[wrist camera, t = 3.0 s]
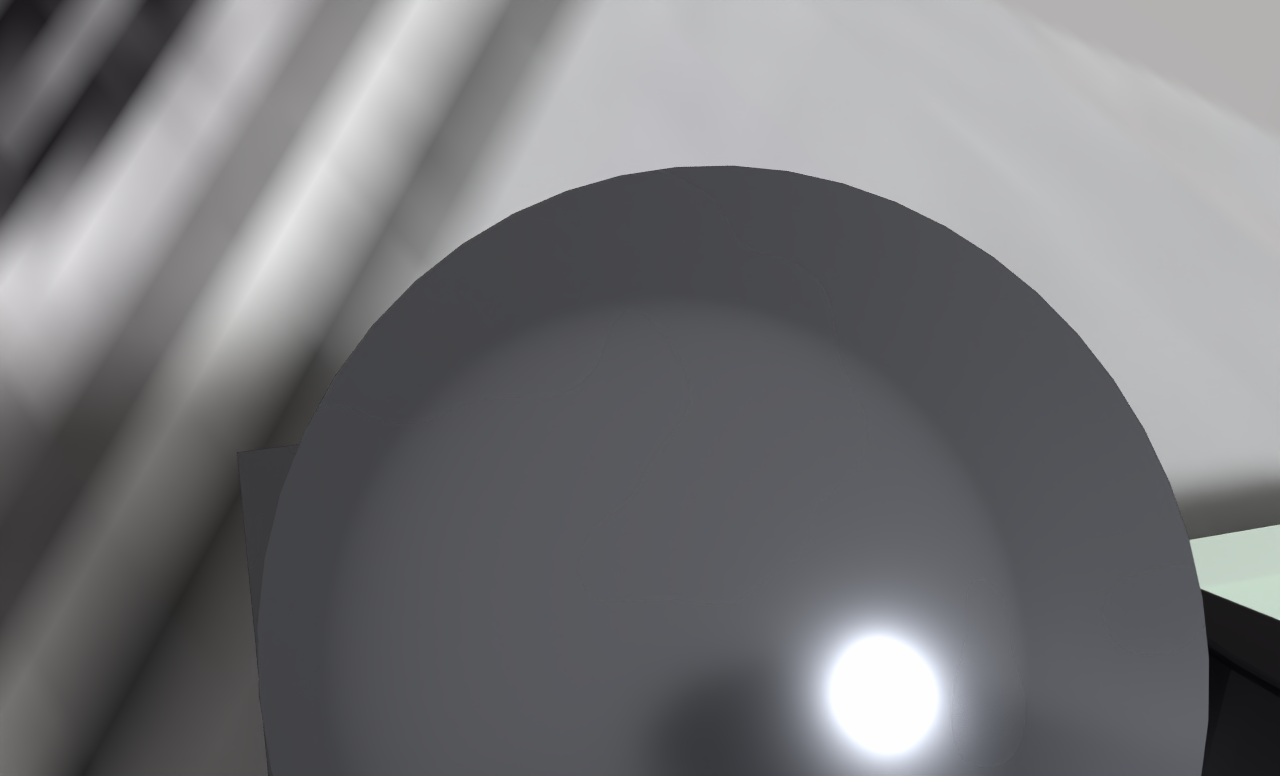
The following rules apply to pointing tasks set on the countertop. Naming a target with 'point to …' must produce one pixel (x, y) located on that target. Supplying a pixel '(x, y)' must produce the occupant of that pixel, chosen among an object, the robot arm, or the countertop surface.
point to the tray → (1242, 567)
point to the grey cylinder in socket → (723, 511)
